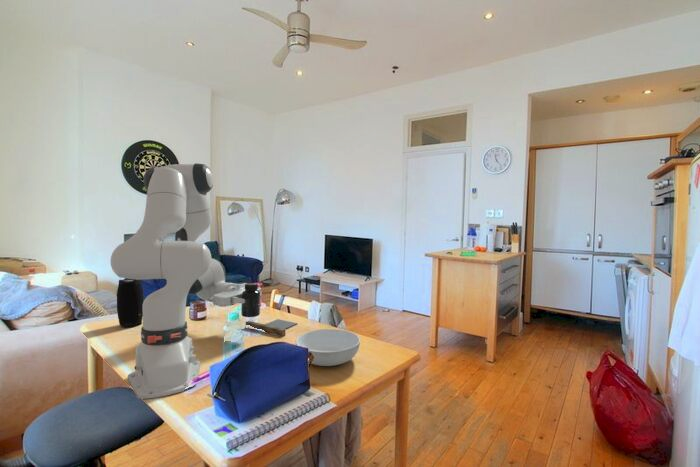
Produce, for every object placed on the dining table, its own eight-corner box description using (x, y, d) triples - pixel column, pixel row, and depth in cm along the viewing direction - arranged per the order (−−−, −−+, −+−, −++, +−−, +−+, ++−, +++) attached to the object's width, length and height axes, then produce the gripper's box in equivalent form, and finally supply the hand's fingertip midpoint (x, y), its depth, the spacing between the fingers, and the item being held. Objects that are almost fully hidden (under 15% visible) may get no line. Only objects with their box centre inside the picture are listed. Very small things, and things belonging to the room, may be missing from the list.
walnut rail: (285, 335, 133) (285, 329, 133) (282, 336, 132) (282, 330, 132) (248, 326, 143) (248, 320, 143) (245, 327, 142) (245, 321, 141)
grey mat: (297, 324, 147) (297, 323, 147) (280, 331, 137) (280, 330, 137) (278, 320, 152) (278, 319, 152) (260, 327, 143) (260, 325, 143)
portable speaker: (147, 324, 144) (146, 278, 143) (122, 330, 137) (121, 281, 136) (138, 320, 149) (137, 276, 148) (113, 325, 142) (112, 279, 141)
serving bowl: (320, 343, 126) (320, 324, 125) (370, 355, 115) (371, 335, 115) (281, 364, 108) (281, 342, 108) (337, 381, 97) (337, 357, 97)
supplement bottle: (262, 316, 130) (263, 284, 129) (244, 318, 126) (245, 286, 125) (256, 311, 135) (256, 281, 135) (238, 314, 131) (239, 283, 131)
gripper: (205, 291, 128) (231, 296, 121) (246, 282, 145) (271, 286, 138) (205, 307, 128) (231, 313, 121) (246, 296, 146) (271, 301, 139)
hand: (252, 298), depth 130 cm, fingers closed on supplement bottle, 7 cm apart
